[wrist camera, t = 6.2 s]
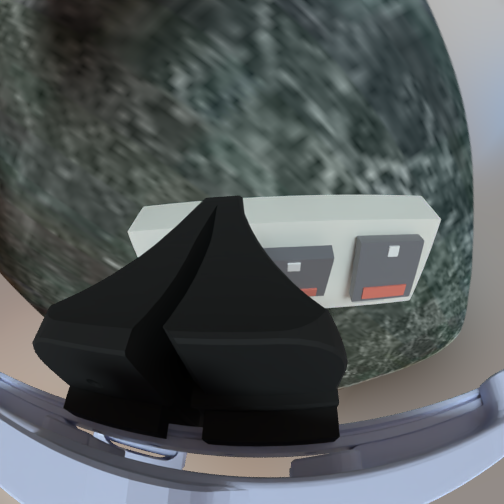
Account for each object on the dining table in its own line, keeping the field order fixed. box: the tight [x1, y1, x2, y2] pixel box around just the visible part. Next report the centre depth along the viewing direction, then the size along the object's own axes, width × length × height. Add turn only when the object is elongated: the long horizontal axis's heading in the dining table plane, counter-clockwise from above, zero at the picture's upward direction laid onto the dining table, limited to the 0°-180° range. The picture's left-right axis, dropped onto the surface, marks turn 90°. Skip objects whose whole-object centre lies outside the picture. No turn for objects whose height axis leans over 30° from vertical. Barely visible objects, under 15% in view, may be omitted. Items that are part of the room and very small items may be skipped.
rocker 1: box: [263, 245, 334, 297], centre depth 19 cm, size 5×5×1 cm
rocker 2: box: [349, 234, 424, 302], centre depth 18 cm, size 5×5×1 cm
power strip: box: [128, 195, 441, 308], centre depth 22 cm, size 9×23×4 cm, turn 94°
